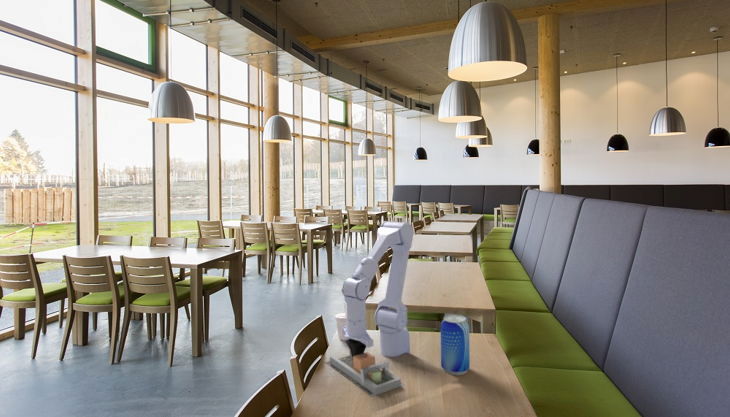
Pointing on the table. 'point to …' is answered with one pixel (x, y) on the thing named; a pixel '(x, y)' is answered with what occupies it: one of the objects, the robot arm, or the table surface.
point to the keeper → (363, 362)
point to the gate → (366, 370)
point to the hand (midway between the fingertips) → (357, 363)
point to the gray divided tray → (387, 383)
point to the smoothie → (341, 322)
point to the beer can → (455, 345)
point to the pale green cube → (376, 377)
